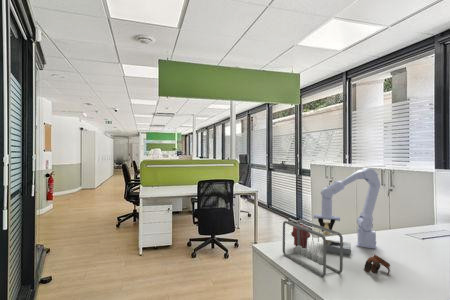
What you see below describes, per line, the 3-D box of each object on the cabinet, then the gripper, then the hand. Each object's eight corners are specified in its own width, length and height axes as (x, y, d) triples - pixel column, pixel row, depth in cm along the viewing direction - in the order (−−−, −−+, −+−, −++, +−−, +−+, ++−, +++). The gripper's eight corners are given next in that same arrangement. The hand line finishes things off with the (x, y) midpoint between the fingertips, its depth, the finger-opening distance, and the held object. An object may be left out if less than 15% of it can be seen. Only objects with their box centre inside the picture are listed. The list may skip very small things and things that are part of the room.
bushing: (330, 234, 164) (330, 222, 164) (330, 236, 161) (330, 223, 161) (323, 233, 166) (323, 221, 166) (322, 235, 162) (322, 223, 162)
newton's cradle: (282, 254, 144) (282, 220, 144) (298, 251, 148) (298, 218, 148) (324, 279, 116) (324, 236, 116) (343, 274, 120) (343, 233, 121)
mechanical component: (290, 244, 159) (308, 245, 158) (292, 250, 149) (311, 251, 148) (290, 222, 159) (308, 223, 158) (292, 227, 149) (311, 228, 148)
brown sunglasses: (362, 267, 130) (372, 252, 130) (383, 281, 125) (393, 265, 125) (360, 269, 120) (370, 253, 120) (382, 284, 115) (393, 268, 115)
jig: (350, 249, 152) (350, 243, 152) (350, 256, 142) (350, 249, 142) (325, 245, 158) (325, 239, 158) (323, 252, 148) (323, 245, 148)
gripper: (312, 208, 163) (312, 232, 163) (339, 211, 157) (339, 235, 157) (314, 206, 169) (314, 229, 169) (340, 208, 163) (340, 232, 163)
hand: (326, 231), depth 163 cm, fingers closed on bushing, 4 cm apart
